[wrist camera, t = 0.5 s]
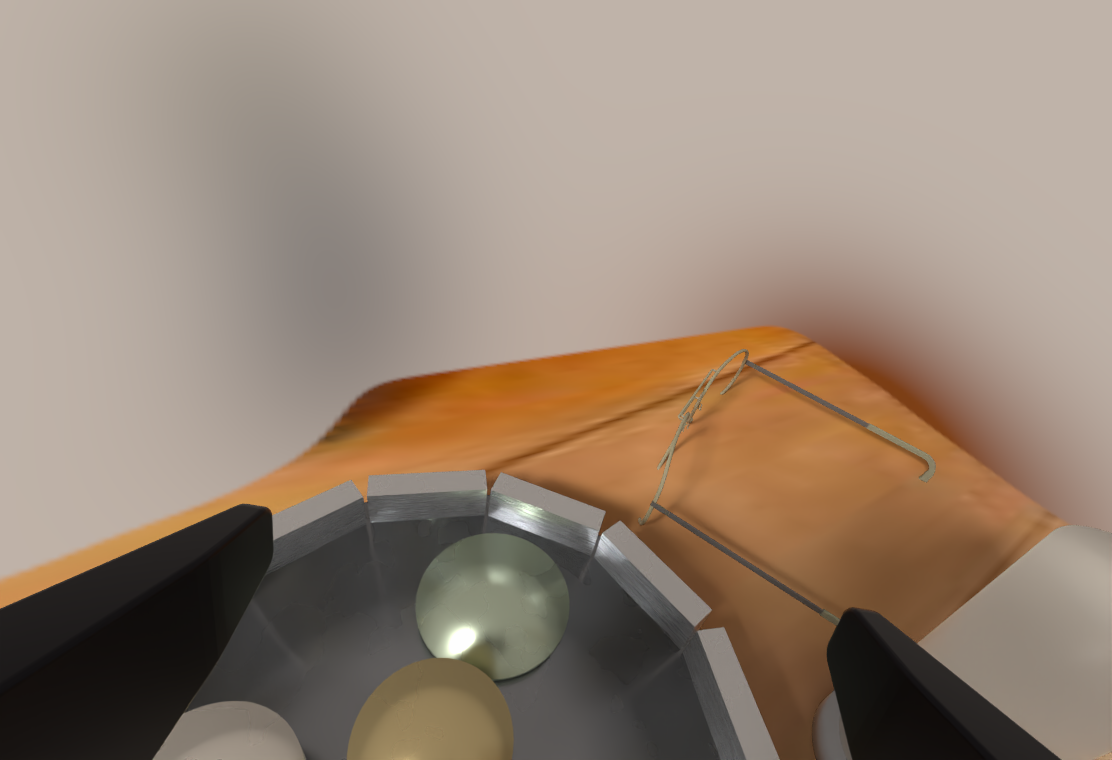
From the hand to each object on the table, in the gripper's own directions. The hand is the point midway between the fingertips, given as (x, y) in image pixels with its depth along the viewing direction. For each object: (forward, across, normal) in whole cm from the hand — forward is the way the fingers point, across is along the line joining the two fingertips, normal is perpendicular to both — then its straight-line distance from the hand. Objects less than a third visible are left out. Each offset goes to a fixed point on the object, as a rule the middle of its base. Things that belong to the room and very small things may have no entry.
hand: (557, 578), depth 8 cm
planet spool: (+8, -15, +14) cm, 23 cm away
